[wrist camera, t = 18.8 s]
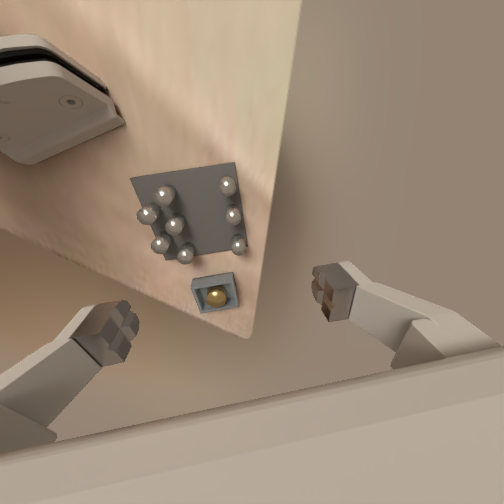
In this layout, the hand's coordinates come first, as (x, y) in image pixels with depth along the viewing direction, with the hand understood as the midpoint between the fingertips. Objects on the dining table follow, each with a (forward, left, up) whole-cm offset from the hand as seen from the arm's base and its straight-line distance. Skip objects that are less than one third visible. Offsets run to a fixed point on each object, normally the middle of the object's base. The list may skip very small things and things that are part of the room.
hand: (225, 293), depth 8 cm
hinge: (-21, +12, -28) cm, 37 cm away
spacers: (-6, -5, -28) cm, 29 cm away
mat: (-6, -5, -28) cm, 29 cm away
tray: (-7, -23, -28) cm, 37 cm away
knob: (-7, -23, -27) cm, 37 cm away
